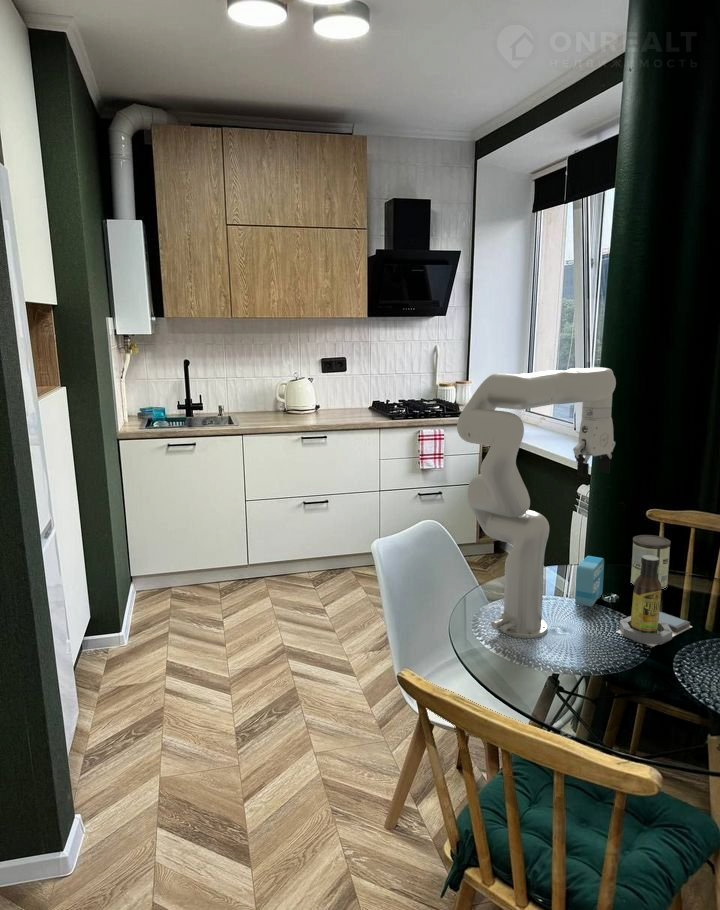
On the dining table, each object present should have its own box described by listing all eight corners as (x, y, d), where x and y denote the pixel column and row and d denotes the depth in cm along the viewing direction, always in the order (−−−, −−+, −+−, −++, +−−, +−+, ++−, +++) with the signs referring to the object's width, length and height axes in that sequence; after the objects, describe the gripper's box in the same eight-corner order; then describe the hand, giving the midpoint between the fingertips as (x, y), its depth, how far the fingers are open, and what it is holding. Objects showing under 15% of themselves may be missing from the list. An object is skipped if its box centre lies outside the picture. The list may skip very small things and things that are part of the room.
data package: (591, 611, 177) (593, 569, 175) (574, 607, 179) (576, 566, 177) (602, 596, 187) (604, 556, 184) (586, 593, 189) (588, 554, 187)
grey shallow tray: (653, 653, 153) (654, 640, 153) (611, 635, 162) (612, 624, 162) (694, 631, 164) (695, 620, 163) (653, 616, 173) (653, 605, 172)
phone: (676, 632, 161) (677, 628, 160) (643, 620, 168) (643, 615, 168) (689, 626, 164) (689, 621, 164) (656, 614, 171) (656, 609, 171)
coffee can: (633, 575, 202) (636, 532, 199) (669, 582, 196) (672, 537, 194) (627, 586, 193) (630, 541, 191) (664, 593, 188) (668, 547, 185)
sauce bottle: (643, 641, 157) (648, 563, 153) (624, 630, 162) (629, 555, 159) (663, 636, 159) (669, 559, 155) (644, 625, 165) (649, 551, 161)
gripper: (588, 417, 168) (585, 481, 171) (627, 412, 178) (623, 472, 181) (564, 414, 174) (562, 476, 177) (603, 409, 184) (600, 468, 187)
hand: (593, 474), depth 179 cm, fingers open, 9 cm apart
